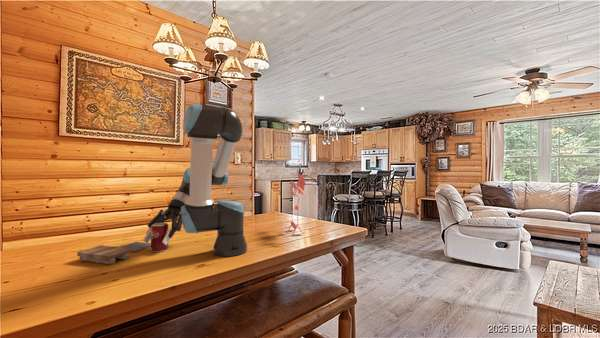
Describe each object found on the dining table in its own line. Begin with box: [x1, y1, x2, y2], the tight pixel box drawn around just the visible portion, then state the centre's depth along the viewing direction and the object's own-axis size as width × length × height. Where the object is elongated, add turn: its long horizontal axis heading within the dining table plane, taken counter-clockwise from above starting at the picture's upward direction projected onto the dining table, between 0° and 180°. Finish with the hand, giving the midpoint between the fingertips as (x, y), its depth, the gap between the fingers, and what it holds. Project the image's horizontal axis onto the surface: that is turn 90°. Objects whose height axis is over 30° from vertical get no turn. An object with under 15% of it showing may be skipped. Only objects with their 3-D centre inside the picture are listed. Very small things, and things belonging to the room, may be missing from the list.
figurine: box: [287, 173, 307, 235], centre depth 161 cm, size 15×26×35 cm, turn 19°
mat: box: [120, 241, 151, 253], centre depth 129 cm, size 12×12×1 cm
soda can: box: [150, 222, 170, 253], centre depth 125 cm, size 7×7×12 cm
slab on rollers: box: [76, 244, 131, 265], centre depth 112 cm, size 16×10×4 cm, turn 75°
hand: (154, 242), depth 122 cm, fingers open, 10 cm apart
